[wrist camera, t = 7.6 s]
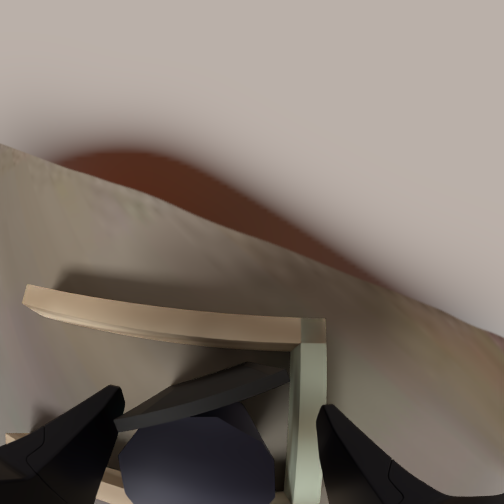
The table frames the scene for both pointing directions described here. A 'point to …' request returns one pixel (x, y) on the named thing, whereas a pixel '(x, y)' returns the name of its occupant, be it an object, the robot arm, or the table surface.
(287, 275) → the table surface
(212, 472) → the dark cylinder with backplate
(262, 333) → the channel
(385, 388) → the table surface
